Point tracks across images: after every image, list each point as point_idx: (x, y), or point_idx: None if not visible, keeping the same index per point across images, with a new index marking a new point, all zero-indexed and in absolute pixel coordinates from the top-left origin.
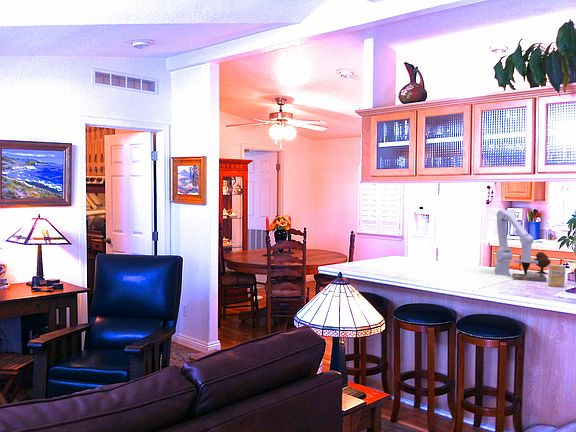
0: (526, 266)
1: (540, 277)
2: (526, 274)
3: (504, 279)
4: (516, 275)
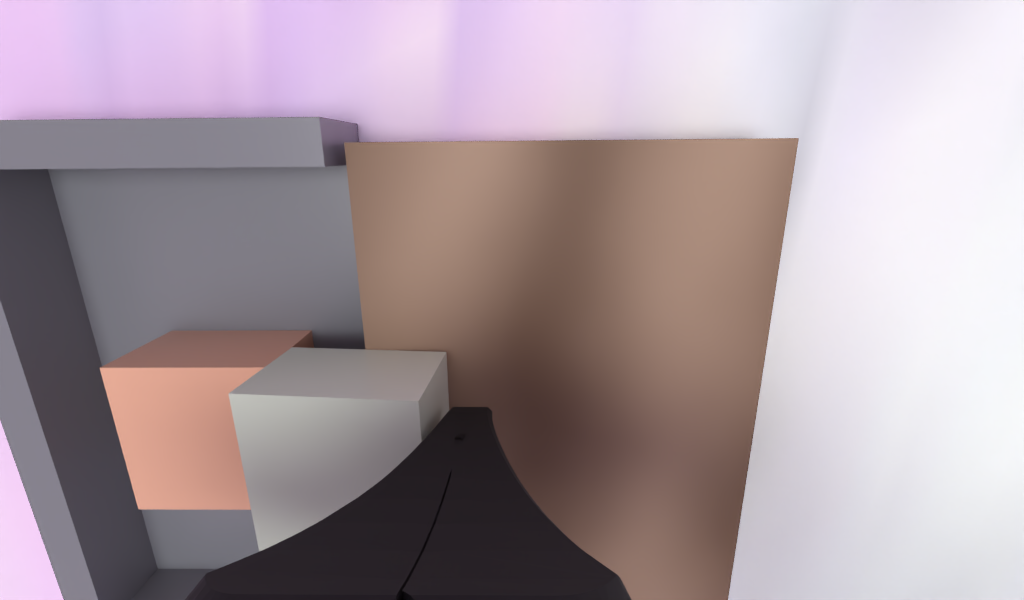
0: (403, 540)
1: (72, 161)
2: None
3: (1005, 69)
4: (689, 369)
